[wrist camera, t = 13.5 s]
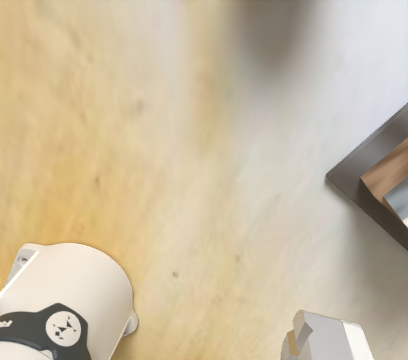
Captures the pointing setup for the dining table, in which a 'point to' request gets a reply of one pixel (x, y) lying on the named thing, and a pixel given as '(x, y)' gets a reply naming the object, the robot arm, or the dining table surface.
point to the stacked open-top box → (380, 176)
